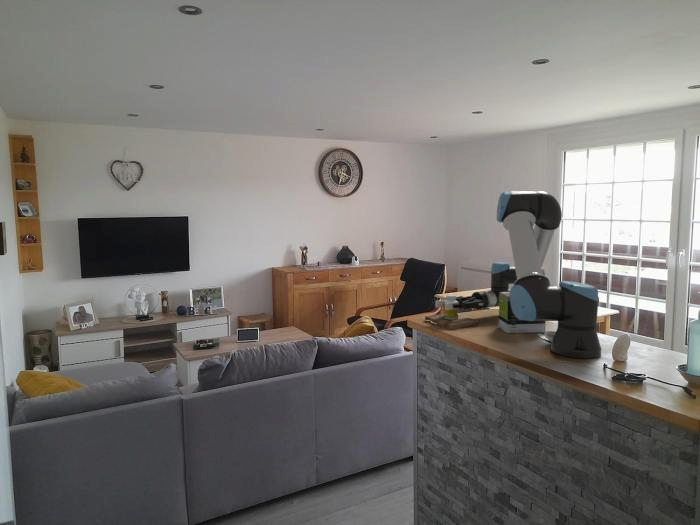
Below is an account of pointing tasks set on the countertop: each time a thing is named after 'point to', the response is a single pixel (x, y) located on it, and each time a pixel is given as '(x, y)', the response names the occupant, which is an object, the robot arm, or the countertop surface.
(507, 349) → the countertop surface
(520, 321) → the tea box
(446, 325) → the u-shaped block
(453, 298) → the supplement bottle
